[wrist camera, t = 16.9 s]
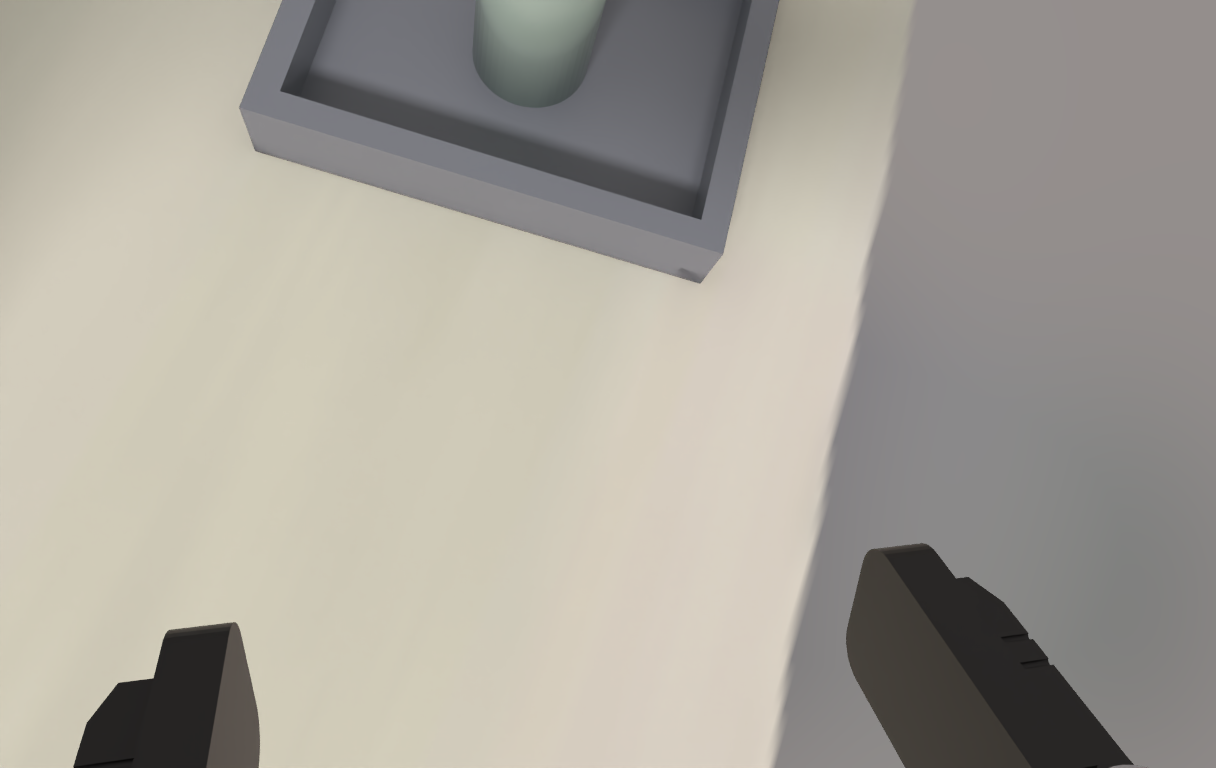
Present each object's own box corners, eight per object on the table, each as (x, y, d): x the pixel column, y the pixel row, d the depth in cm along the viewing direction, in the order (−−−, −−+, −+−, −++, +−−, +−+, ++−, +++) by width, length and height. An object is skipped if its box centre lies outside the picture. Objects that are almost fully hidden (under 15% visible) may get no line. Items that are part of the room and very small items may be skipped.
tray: (255, 150, 40) (239, 107, 37) (369, -141, 45) (364, -203, 41) (700, 283, 42) (723, 253, 39) (766, -7, 47) (791, -56, 43)
